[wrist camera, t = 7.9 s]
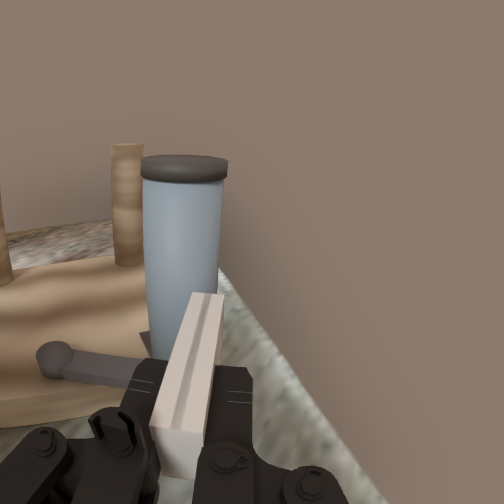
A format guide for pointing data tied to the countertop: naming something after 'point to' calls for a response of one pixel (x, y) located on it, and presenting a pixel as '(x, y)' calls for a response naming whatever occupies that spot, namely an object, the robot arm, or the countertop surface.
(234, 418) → the robot arm
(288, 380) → the countertop surface
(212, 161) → the folding leg
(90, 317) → the ash stool
